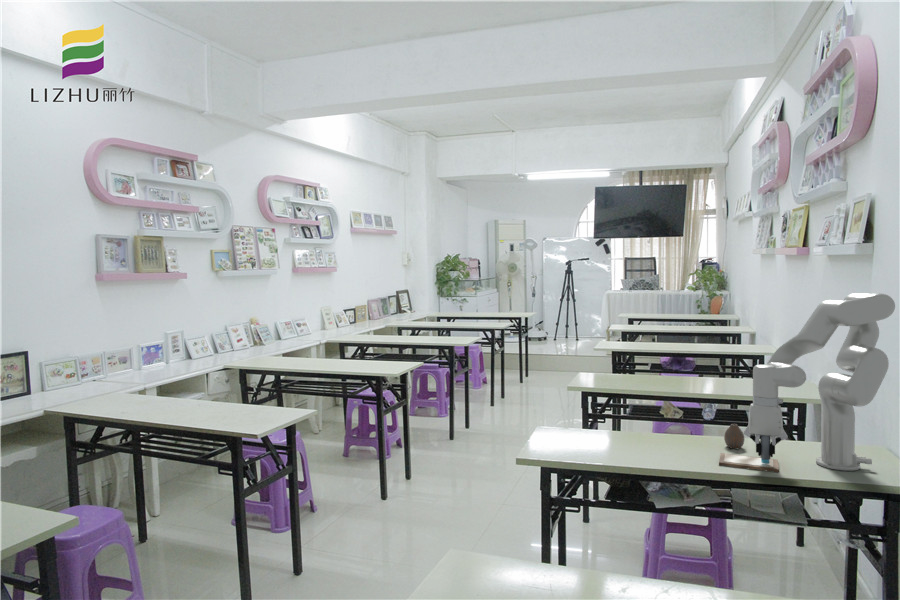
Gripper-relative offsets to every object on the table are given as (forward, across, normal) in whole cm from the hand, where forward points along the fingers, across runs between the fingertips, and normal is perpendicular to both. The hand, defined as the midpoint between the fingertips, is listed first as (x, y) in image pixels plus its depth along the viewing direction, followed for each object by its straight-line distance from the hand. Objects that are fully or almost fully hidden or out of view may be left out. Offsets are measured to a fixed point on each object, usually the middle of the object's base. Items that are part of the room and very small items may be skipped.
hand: (765, 454), depth 196 cm
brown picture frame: (+4, +5, -2) cm, 7 cm away
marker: (+3, 0, 0) cm, 3 cm away
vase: (+5, +10, -22) cm, 25 cm away
